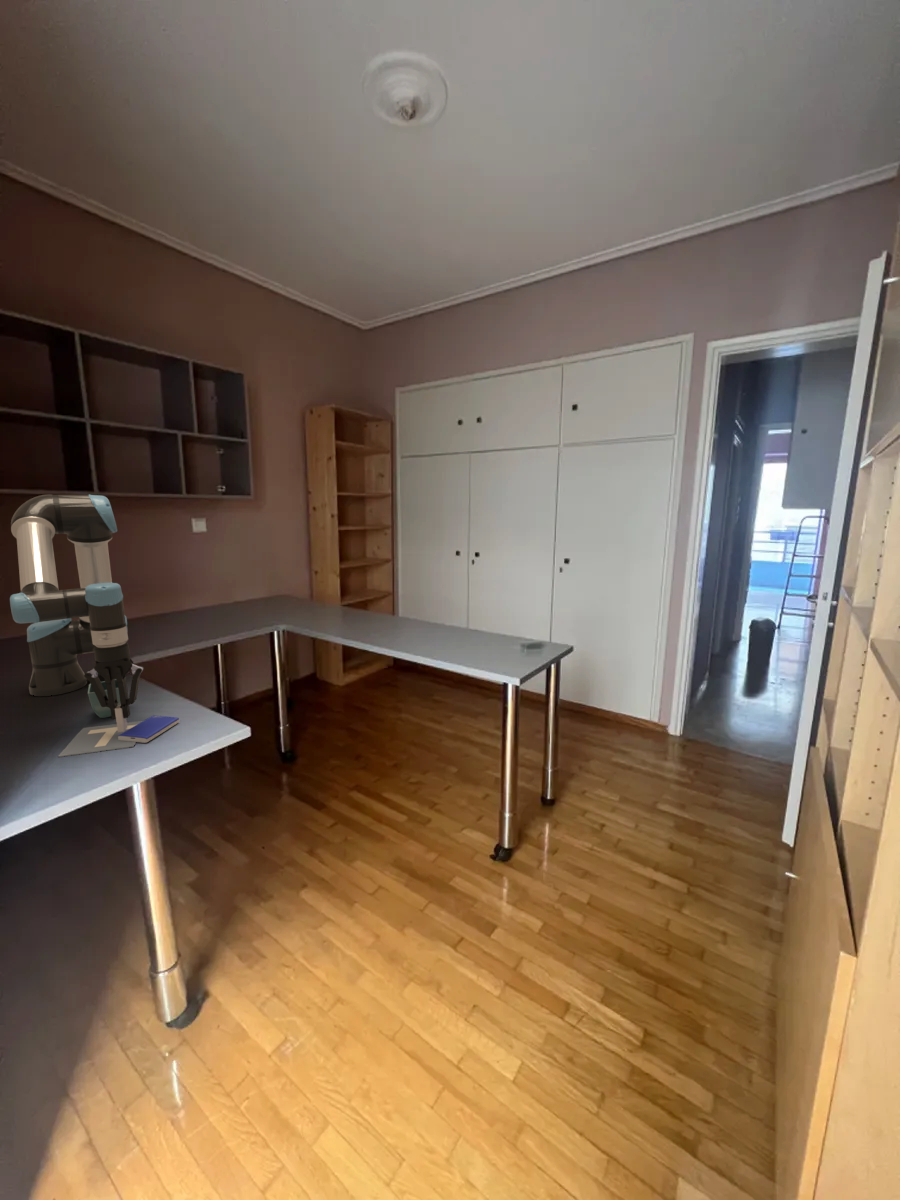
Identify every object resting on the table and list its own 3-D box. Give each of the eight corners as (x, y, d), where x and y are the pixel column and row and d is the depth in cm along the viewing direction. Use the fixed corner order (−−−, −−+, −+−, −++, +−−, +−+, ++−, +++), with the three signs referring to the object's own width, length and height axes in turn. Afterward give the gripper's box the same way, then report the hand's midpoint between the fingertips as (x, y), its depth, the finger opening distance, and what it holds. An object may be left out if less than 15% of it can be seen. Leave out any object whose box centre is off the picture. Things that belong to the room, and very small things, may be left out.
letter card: (83, 728, 133) (82, 727, 133) (149, 720, 138) (149, 719, 138) (57, 757, 118) (57, 756, 118) (133, 747, 123) (133, 746, 123)
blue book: (152, 715, 138) (117, 734, 126) (179, 717, 137) (146, 737, 125) (152, 720, 138) (118, 740, 126) (179, 722, 137) (147, 743, 125)
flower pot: (91, 723, 137) (87, 693, 135) (93, 712, 144) (89, 683, 142) (129, 715, 142) (125, 686, 140) (128, 705, 149) (124, 677, 147)
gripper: (74, 650, 119) (88, 739, 123) (135, 645, 123) (146, 732, 127) (86, 642, 126) (99, 726, 130) (144, 637, 130) (154, 720, 134)
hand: (122, 729), depth 129 cm, fingers closed
